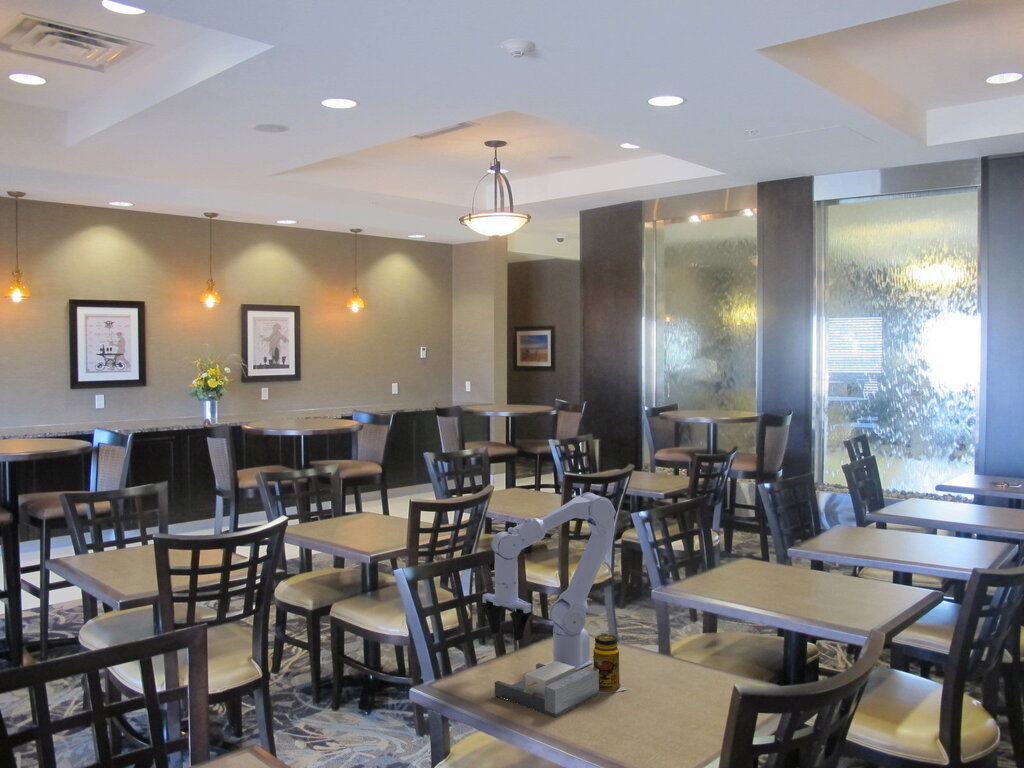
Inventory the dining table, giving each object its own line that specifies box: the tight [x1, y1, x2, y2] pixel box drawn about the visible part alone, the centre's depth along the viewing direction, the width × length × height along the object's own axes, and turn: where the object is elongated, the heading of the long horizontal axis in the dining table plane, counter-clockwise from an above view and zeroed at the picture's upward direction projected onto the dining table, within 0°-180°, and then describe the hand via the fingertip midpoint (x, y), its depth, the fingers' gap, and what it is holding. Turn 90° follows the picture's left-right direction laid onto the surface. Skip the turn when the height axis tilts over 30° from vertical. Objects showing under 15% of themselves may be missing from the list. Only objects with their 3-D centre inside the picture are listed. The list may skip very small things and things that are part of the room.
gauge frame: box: [494, 663, 600, 718], centre depth 192 cm, size 16×18×6 cm
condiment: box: [592, 633, 628, 695], centre depth 198 cm, size 7×8×12 cm
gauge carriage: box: [524, 661, 577, 696], centre depth 190 cm, size 14×6×5 cm, turn 138°
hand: (506, 636), depth 206 cm, fingers open, 7 cm apart
